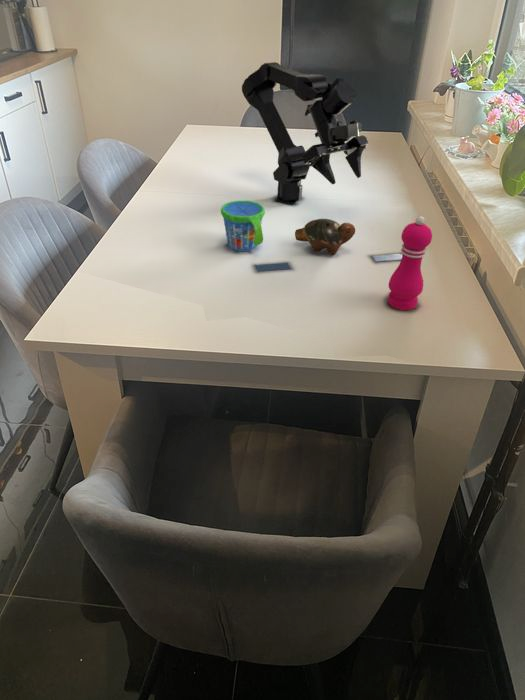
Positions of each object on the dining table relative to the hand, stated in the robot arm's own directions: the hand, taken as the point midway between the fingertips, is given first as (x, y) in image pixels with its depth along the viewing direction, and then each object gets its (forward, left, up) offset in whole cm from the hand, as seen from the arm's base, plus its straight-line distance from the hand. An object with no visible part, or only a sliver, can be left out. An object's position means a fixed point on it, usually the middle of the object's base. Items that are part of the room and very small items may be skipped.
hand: (346, 180), depth 142 cm
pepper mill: (+24, -32, -13) cm, 42 cm away
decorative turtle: (0, -15, -13) cm, 20 cm away
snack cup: (-19, -23, -13) cm, 33 cm away
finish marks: (+4, -21, -13) cm, 25 cm away
